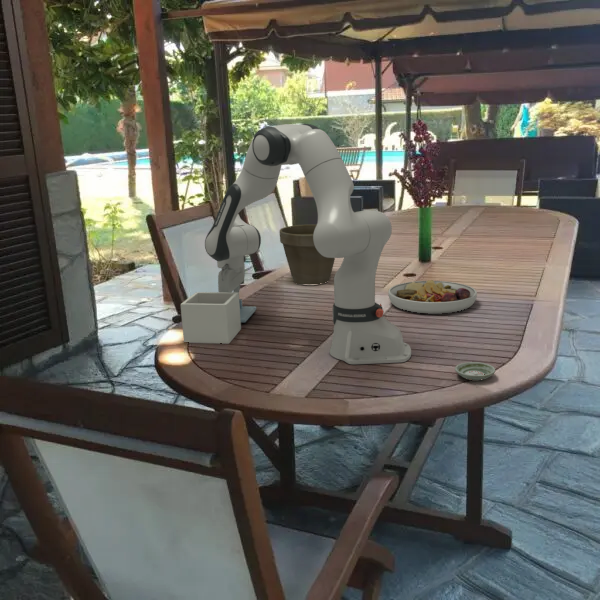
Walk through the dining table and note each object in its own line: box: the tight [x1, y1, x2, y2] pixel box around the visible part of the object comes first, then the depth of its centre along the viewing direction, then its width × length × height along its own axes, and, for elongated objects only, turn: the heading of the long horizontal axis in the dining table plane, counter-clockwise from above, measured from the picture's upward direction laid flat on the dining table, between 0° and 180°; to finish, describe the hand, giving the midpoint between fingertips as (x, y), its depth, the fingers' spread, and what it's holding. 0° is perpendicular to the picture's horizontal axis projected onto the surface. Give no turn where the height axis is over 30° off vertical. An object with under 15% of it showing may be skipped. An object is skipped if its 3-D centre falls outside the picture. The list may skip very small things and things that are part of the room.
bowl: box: [387, 279, 478, 315], centre depth 222 cm, size 30×30×8 cm
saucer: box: [454, 361, 496, 381], centre depth 159 cm, size 10×10×2 cm
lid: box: [239, 298, 257, 323], centre depth 215 cm, size 15×15×5 cm
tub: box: [180, 291, 242, 345], centre depth 196 cm, size 14×14×12 cm
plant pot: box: [279, 224, 336, 285], centre depth 258 cm, size 25×25×22 cm
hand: (233, 300), depth 219 cm, fingers open, 7 cm apart
